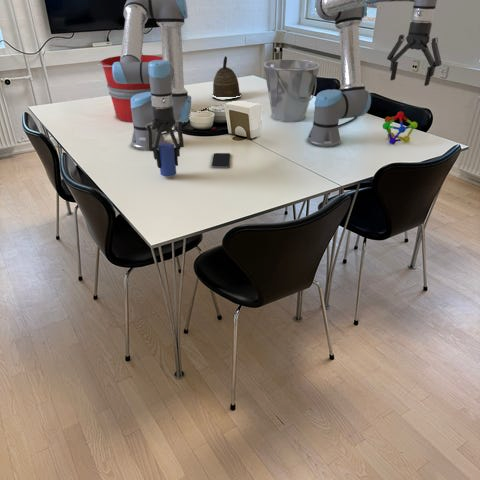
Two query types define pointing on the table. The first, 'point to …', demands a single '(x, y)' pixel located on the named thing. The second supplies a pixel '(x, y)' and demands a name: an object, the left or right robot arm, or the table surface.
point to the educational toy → (398, 128)
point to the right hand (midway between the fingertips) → (409, 82)
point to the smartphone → (221, 160)
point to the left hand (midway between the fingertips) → (167, 165)
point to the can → (167, 159)
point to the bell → (225, 82)
